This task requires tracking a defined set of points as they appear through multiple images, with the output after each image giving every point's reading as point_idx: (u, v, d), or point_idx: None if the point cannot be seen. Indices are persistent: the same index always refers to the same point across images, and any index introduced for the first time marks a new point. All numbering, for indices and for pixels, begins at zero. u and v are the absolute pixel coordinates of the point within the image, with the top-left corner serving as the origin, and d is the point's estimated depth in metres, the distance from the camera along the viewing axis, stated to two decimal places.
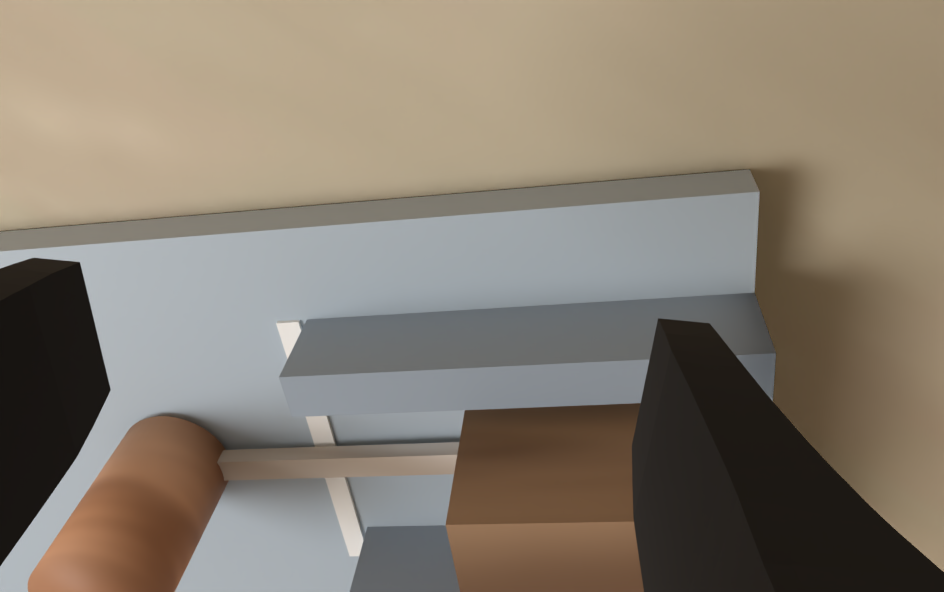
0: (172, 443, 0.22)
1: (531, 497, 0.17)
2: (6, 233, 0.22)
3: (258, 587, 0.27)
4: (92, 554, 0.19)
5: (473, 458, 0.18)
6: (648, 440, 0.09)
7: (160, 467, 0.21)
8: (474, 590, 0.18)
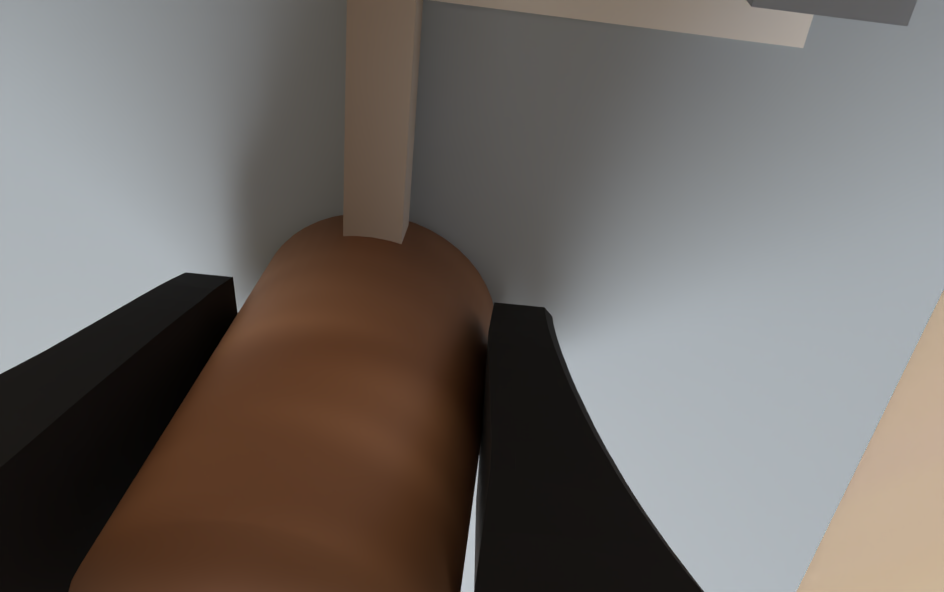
0: (249, 297, 0.10)
1: None
2: None
3: (837, 333, 0.11)
4: (81, 568, 0.07)
5: None
6: None
7: (224, 335, 0.09)
8: None
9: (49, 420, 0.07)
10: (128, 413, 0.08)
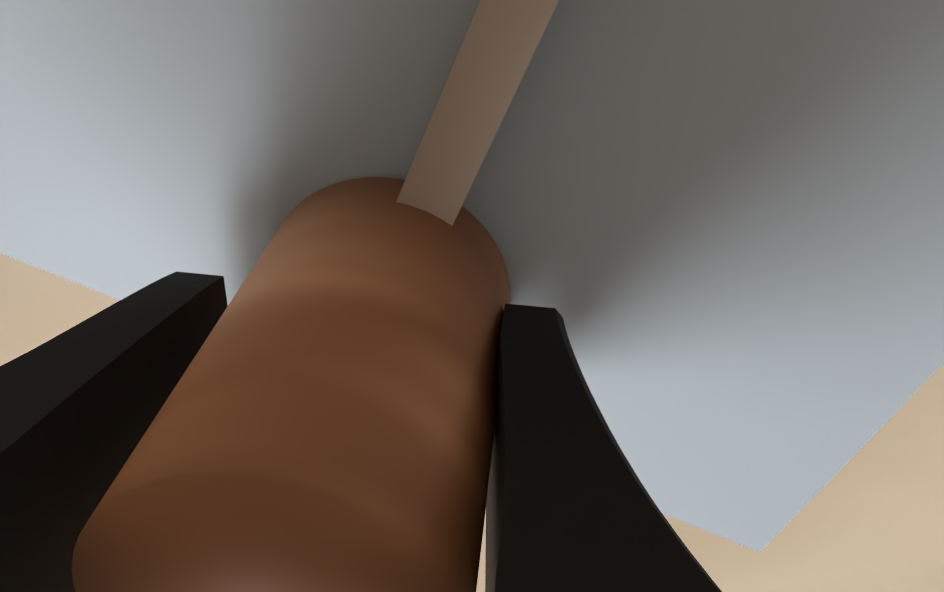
0: (281, 236, 0.09)
1: None
2: None
3: None
4: (105, 495, 0.06)
5: None
6: None
7: (258, 273, 0.09)
8: None
9: (35, 418, 0.07)
10: (116, 412, 0.08)
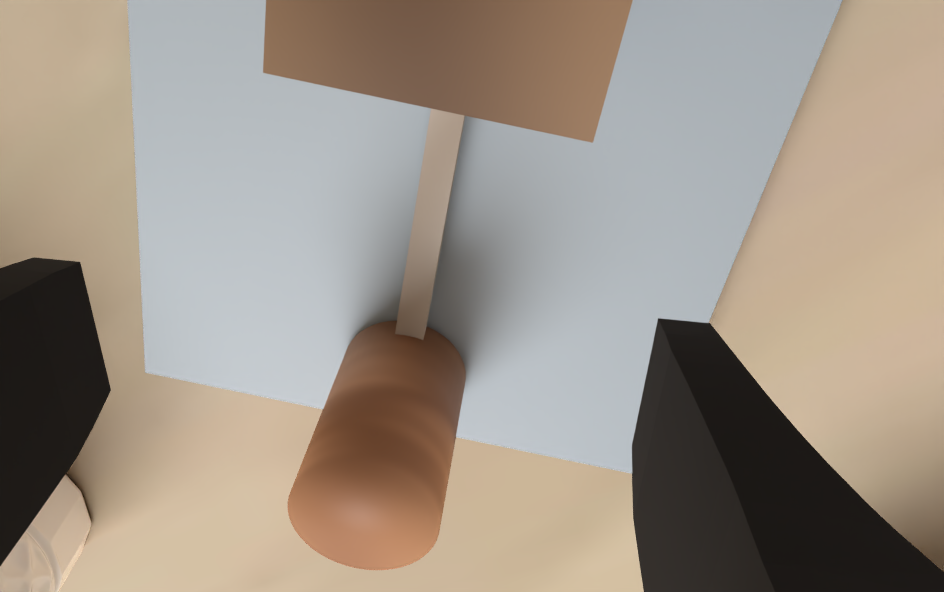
0: (346, 360, 0.20)
1: None
2: None
3: (766, 50, 0.16)
4: (295, 480, 0.17)
5: None
6: (648, 440, 0.09)
7: (338, 381, 0.19)
8: (401, 80, 0.12)
9: None
10: None
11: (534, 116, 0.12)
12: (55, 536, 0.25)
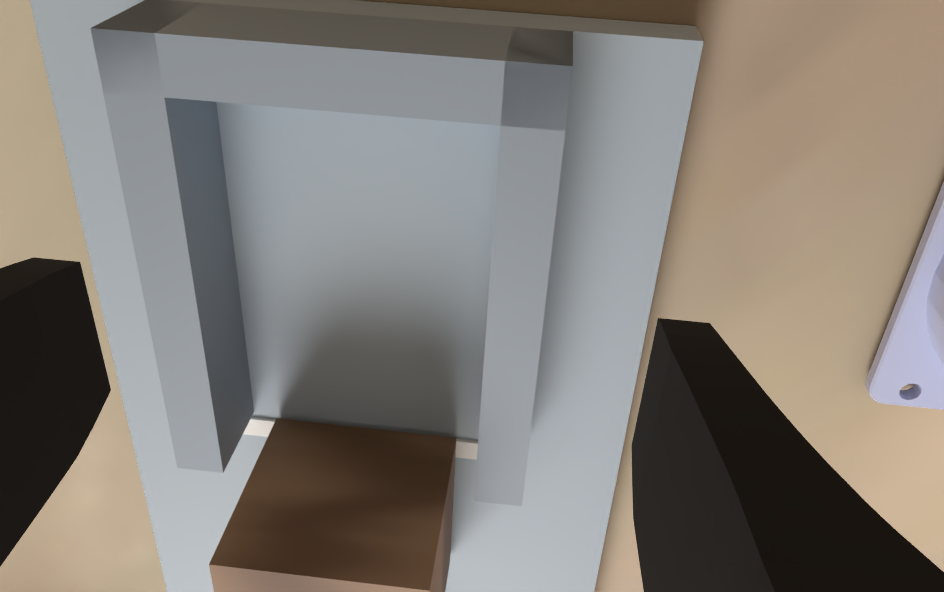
0: None
1: None
2: None
3: (567, 554, 0.25)
4: None
5: None
6: (648, 440, 0.09)
7: None
8: None
9: None
10: None
11: None
12: None
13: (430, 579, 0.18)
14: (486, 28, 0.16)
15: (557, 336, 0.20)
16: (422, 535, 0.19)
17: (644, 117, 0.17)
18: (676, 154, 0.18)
